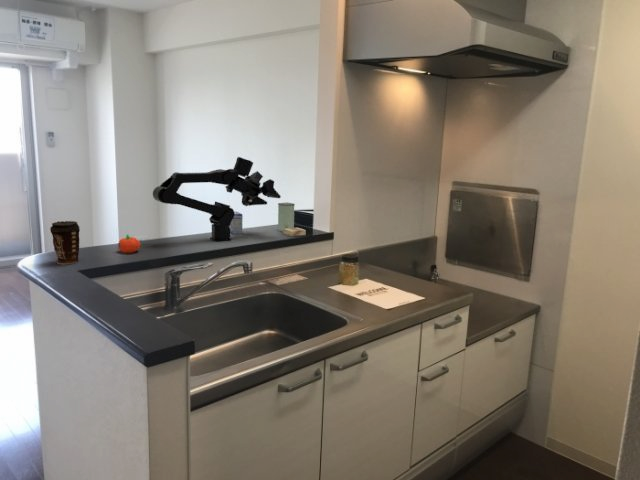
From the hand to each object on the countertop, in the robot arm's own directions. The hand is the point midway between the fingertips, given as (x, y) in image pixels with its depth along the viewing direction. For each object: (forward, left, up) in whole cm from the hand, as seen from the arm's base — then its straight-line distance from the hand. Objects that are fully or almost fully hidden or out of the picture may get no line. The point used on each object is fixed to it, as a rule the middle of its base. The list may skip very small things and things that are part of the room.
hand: (273, 200), depth 222 cm
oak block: (+8, -4, -15) cm, 18 cm away
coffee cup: (-83, -13, -15) cm, 85 cm away
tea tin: (+9, +5, -15) cm, 18 cm away
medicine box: (-13, +11, -15) cm, 23 cm away
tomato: (-62, -7, -15) cm, 64 cm away
